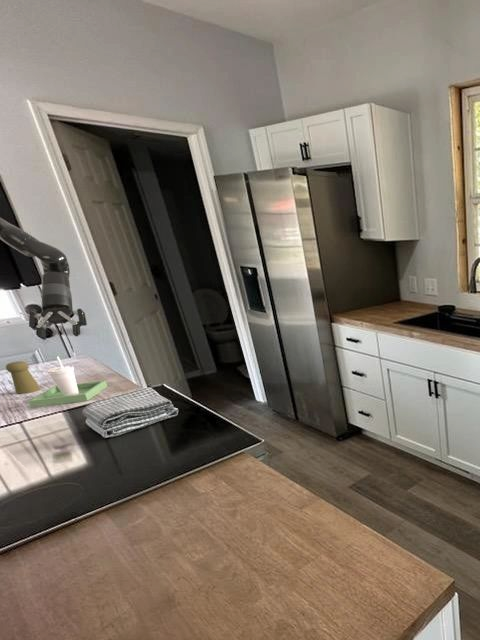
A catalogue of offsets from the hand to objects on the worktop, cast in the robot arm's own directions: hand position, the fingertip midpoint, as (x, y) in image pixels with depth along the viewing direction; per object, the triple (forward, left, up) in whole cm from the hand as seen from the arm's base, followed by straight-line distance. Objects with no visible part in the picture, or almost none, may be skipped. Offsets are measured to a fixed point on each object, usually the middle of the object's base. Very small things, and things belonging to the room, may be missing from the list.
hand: (59, 337), depth 147 cm
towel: (+33, -49, -19) cm, 62 cm away
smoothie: (+3, -13, -18) cm, 22 cm away
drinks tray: (+3, -13, -19) cm, 23 cm away
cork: (-15, +1, -19) cm, 24 cm away
